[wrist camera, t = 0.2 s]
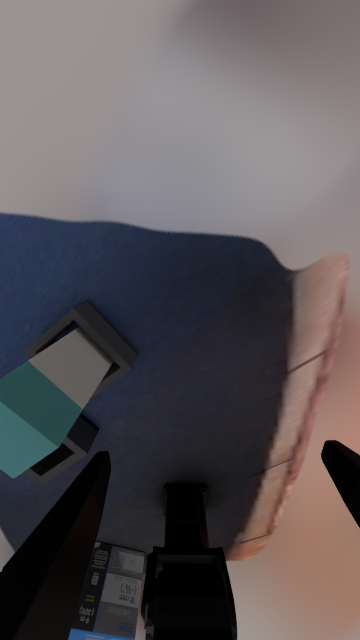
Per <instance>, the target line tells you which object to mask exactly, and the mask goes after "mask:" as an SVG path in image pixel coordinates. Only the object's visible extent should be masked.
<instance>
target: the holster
mask: <svg viewBox="0 0 360 640" xmlns="http://www.w3.org/2000/svg"><path fill="white" fill-rule="evenodd" d="M75 322H76V323H77V324H78V325H79V326H80V327H81V328H82V329H83V330H84V331H85V332H86V333H87V334H88V335H89V336H90V337H91V338H92V339H93V340H94V341H95V342H96V343H97V344H98V345H99V346H100V347H101V348H102V349H103V350H104V351H105V352H106V353H107V354H108V355H109V356H110V357H111V358H112V359H113V360H114V361H115V362H116V364H114V365H113V366H112V367H110V368H109V369H108V371H107V373H106V374H105V376H104V377H103V379H102V380H101V382H100V384H99V385H98V387H97V388H96V390H95V391H94V393H93V395H92V396H91V398H93V397H94V396H95V395H97V394H98V393H99V392H101V391H102V390H104V389H105V388H106V387H108V386H109V385H110V384H112V383H113V382H115V381H116V380H117V379H119V378H120V377H121V376H123V375H124V374H126V373H127V372H128V371H130V370H131V369H132V368H133V365H134V363H135V361H136V358H137V356H138V355H137V354H136V353H135V352H134V351H133V350H132V348H131V347H130V346H129V345H128V344H127V343H126V342H125V341H124V340H123V339H122V338H121V337H120V336H119V335H118V333H117V332H116V331H115V330H114V329H113V328H112V327H111V326H110V325H109V324H108V323H107V322H106V321H105V320H104V318H103V317H102V316H101V315H100V314H99V313H98V312H97V311H96V310H95V309H94V308H93V307H92V306H91V305H90V303H89V302H85V303H83V304H81V305H79V306H76V307H74V308H73V309H71V310H70V311H69V312H68V313H67V314H66V315H64V316H63V317H62V318H61V319H60V320H59V321H57V322H56V323H55V324H54V325H53V326H52V327H50V328H49V329H48V330H47V331H46V332H45V333H44V334H42V335H41V336H40V337H39V338H38V339H37V340H35V341H34V342H33V343H32V344H31V345H30V346H28V347H27V348H26V349H25V350H24V352H25V353H26V354H27V355H28V356H29V357H30V358H33V357H34V356H36V355H37V354H39V353H40V352H42V351H43V350H45V349H46V348H48V347H49V346H51V345H52V344H54V343H55V341H54V340H55V339H56V338H57V337H58V336H59V335H61V334H62V333H63V332H64V331H65V330H66V329H68V328H69V327H70V326H71V325H72V324H74V323H75ZM91 398H90V399H91ZM90 399H89V400H90Z"/></svg>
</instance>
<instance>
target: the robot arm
mask: <svg viewBox="0 0 360 640" xmlns="http://www.w3.org/2000/svg"><path fill="white" fill-rule="evenodd" d="M321 458H322V461H323V463H324V465H325V467H326V469H327V470H328V472H329V474H330V476H331V478H332V480H333V482H334V484H335V486H336V487H337V490H338V491H339V493H340V495H341V497H342V499H343V501H344V503H345V504H346V506H347V508H348V510H349V511H350V513H351V514H352V516H353V518H354V520H355V521H356V523H357V524H358V526H359V527H360V455H359V454H357V453H355V452H354V451H352V450H351V449H349V448H348V447H346V446H345V445H343V444H342V443H340V442H338V441H336V440H327V441H326V442H325V443H324V446H323V450H322V453H321ZM110 472H111V462H110V456H109V452H108V451H99V452H97V453H96V454H95V455H94V457H93V458H92V459H91V460H90V461H89V463H88V464H87V465H86V466H85V468H84V469H83V470H82V471H81V473H80V474H79V475H78V476H77V477H76V479H75V480H74V481H73V482H72V484H71V485H70V486H69V487H68V488H67V490H66V491H65V492H64V493H63V495H62V496H61V497H60V498H59V500H58V501H57V502H56V503H55V504H54V506H53V507H52V508H51V509H50V511H49V512H48V513H47V514H46V516H45V517H44V518H43V519H42V520H41V522H40V523H39V524H38V525H37V527H36V528H35V529H34V530H33V531H32V533H31V534H30V535H29V536H28V538H27V539H26V540H25V541H24V543H23V544H22V545H21V546H20V547H19V549H18V550H17V551H16V552H15V554H14V555H13V556H12V557H11V559H10V560H9V561H8V562H7V563H6V565H5V566H4V567H3V569H2V572H0V640H68V638H69V635H70V631H71V628H72V624H73V621H74V617H75V613H76V610H77V606H78V603H79V599H80V595H81V592H82V588H83V585H84V581H85V578H86V574H87V570H88V567H89V563H90V560H91V556H92V553H93V549H94V545H95V542H96V538H97V535H98V531H99V527H100V523H101V519H102V514H103V509H104V504H105V498H106V493H107V488H108V483H109V477H110ZM207 496H208V486H207V485H173V484H167V485H165V486H164V513H163V515H164V516H165V517H166V521H165V542H164V547H158V546H153V552H152V553H151V554H149V555H148V557H147V567H146V576H145V583H144V590H143V597H142V604H141V616H142V618H143V620H144V622H145V628H144V629H146V640H237V622H236V612H235V604H234V598H233V593H232V588H231V584H230V579H229V575H228V570H227V565H226V561H225V556H224V552H223V548H222V547H218V548H209V542H208V533H207V524H206V515H205V513H206V505H207Z"/></svg>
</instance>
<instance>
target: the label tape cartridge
mask: <svg viewBox="0 0 360 640" xmlns="http://www.w3.org/2000/svg"><path fill="white" fill-rule="evenodd" d="M143 565H144V552H139V551H134V550H130V549H125V548H121V547H116V546H112V545H107V544H103V543H99V542H96V543H95V545H94V549H93V553H92V556H91V560H90V563H89V567H88V570H87V574H86V578H85V581H84V585H83V588H82V592H81V595H80V599H79V603H78V606H77V610H76V613H75V617H74V621H73V624H72V628H71V631H70V635H69V638H68V640H135V633H136V624H137V616H138V608H139V599H140V590H141V583H142V574H143Z"/></svg>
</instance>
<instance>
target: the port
mask: <svg viewBox="0 0 360 640" xmlns="http://www.w3.org/2000/svg"><path fill="white" fill-rule="evenodd" d="M98 431H99V428H98V427H96V426H95V425H94V424H93V423H92V422H91V421H90V420H88V419H87V418H86V417H85V416H84V415H83V414H82V413H80V415H79V416H78V418H77V420H76V421H75V423H74V424H73V426H72V427H71V429H70V431H69V432H68V434H67V435H66V437H65V438H64V440H63V441H62V443H61V445H60V446H59V448H57V449H56V450H54V451H53V452H51V453H50V454H49V455H47V456H46V457H44V458H43V459H41V460H40V461H39V462H37V463H36V464H34V465H33V466H31V467H30V468H28V469H27V470H26V471H24V473H26V474H27V475H28V476H30V477H31V478H33V479H34V480H36V481H37V482H38V483H40V484H41V485H42V484H43V483H45V482H46V481H48V480H49V479H51V478H52V477H54V476H55V475H57V474H58V473H60V472H61V471H63V470H64V469H66V468H67V467H69V466H70V465H72V464H73V463H75V462H76V461H78V460H79V459H81V458H82V457H84V456H85V455H87V454H88V452H89V450H90V448H91V446H92V444H93V441H94V439H95V437H96V435H97V433H98Z"/></svg>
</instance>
